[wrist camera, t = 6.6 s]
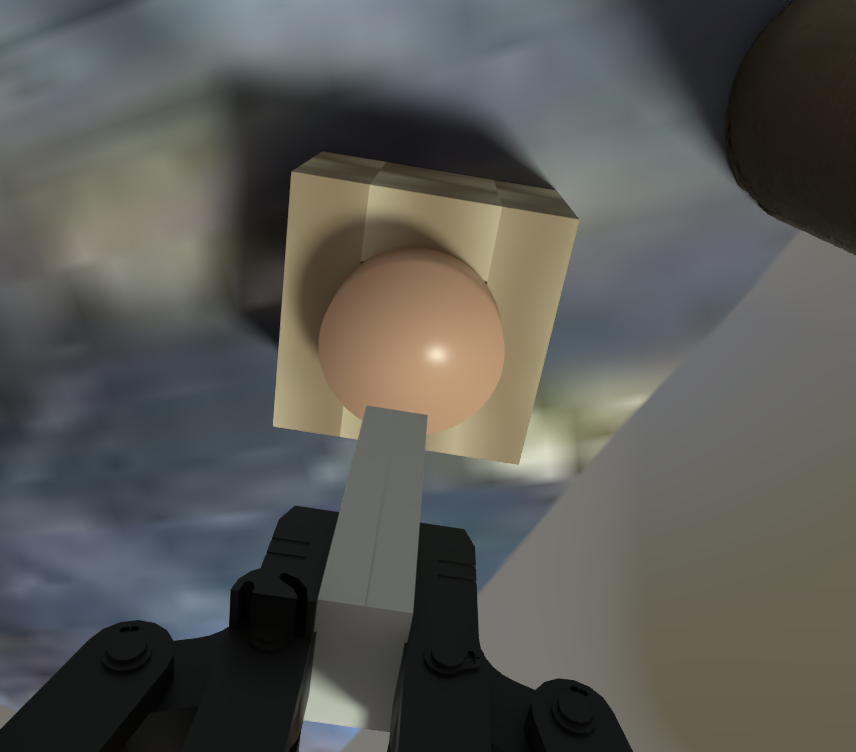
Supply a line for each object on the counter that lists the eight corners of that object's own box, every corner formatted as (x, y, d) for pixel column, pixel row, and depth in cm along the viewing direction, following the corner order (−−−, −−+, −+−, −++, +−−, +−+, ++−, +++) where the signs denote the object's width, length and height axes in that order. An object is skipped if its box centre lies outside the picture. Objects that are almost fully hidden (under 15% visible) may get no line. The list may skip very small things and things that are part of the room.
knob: (342, 343, 32) (310, 420, 25) (358, 204, 29) (327, 247, 22) (479, 365, 32) (485, 447, 25) (507, 229, 29) (522, 279, 23)
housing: (303, 366, 33) (273, 426, 28) (322, 151, 29) (291, 171, 24) (508, 399, 33) (518, 464, 28) (556, 190, 29) (579, 219, 24)
